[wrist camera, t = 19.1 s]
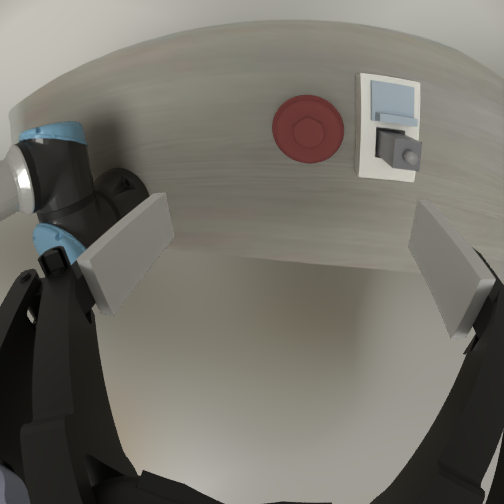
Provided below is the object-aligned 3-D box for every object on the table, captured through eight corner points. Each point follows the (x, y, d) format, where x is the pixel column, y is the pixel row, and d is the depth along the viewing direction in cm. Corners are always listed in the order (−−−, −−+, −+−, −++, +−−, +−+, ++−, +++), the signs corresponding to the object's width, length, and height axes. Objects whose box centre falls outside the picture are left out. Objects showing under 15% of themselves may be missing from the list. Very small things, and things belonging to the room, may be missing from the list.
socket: (354, 170, 44) (358, 177, 41) (355, 74, 35) (360, 72, 32) (406, 175, 42) (414, 182, 39) (411, 83, 33) (419, 82, 30)
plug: (372, 150, 41) (397, 172, 29) (373, 127, 39) (399, 141, 27) (393, 152, 40) (424, 175, 29) (395, 130, 38) (427, 145, 27)
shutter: (370, 120, 35) (376, 122, 32) (370, 80, 32) (376, 79, 29) (411, 125, 34) (420, 128, 31) (412, 87, 31) (421, 87, 28)
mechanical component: (272, 99, 40) (332, 93, 38) (282, 155, 45) (340, 150, 43) (261, 100, 30) (343, 91, 27) (275, 174, 35) (352, 168, 32)
